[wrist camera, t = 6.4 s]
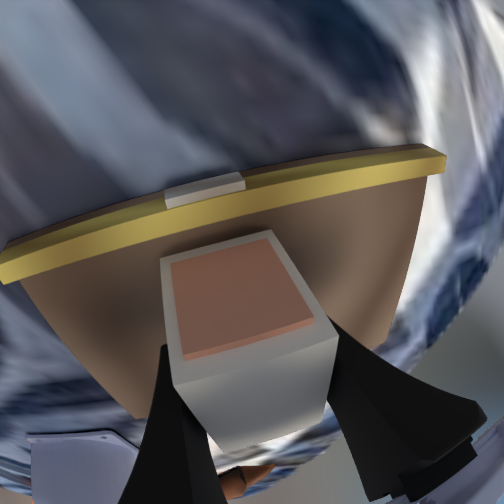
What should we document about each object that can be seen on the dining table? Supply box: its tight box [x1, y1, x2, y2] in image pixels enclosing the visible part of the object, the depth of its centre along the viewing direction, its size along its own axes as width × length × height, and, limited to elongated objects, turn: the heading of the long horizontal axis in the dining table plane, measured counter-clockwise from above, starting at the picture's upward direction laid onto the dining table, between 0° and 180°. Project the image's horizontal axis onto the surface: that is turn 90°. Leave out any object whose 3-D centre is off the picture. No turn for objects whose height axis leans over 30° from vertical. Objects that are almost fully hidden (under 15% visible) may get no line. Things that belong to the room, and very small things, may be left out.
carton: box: [160, 229, 339, 453], centre depth 10 cm, size 4×6×5 cm, turn 7°
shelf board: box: [0, 144, 447, 419], centre depth 14 cm, size 18×14×2 cm
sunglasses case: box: [219, 464, 276, 500], centre depth 34 cm, size 18×7×7 cm, turn 138°
